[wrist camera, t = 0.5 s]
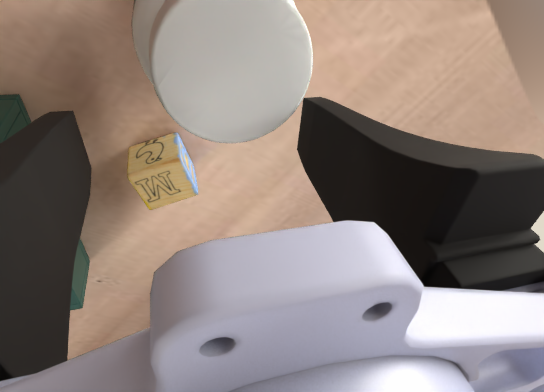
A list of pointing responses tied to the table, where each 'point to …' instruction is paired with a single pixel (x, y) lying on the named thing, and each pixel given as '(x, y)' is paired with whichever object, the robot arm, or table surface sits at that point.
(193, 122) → the pill bottle
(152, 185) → the alphabet block
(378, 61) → the table surface
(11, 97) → the tray
